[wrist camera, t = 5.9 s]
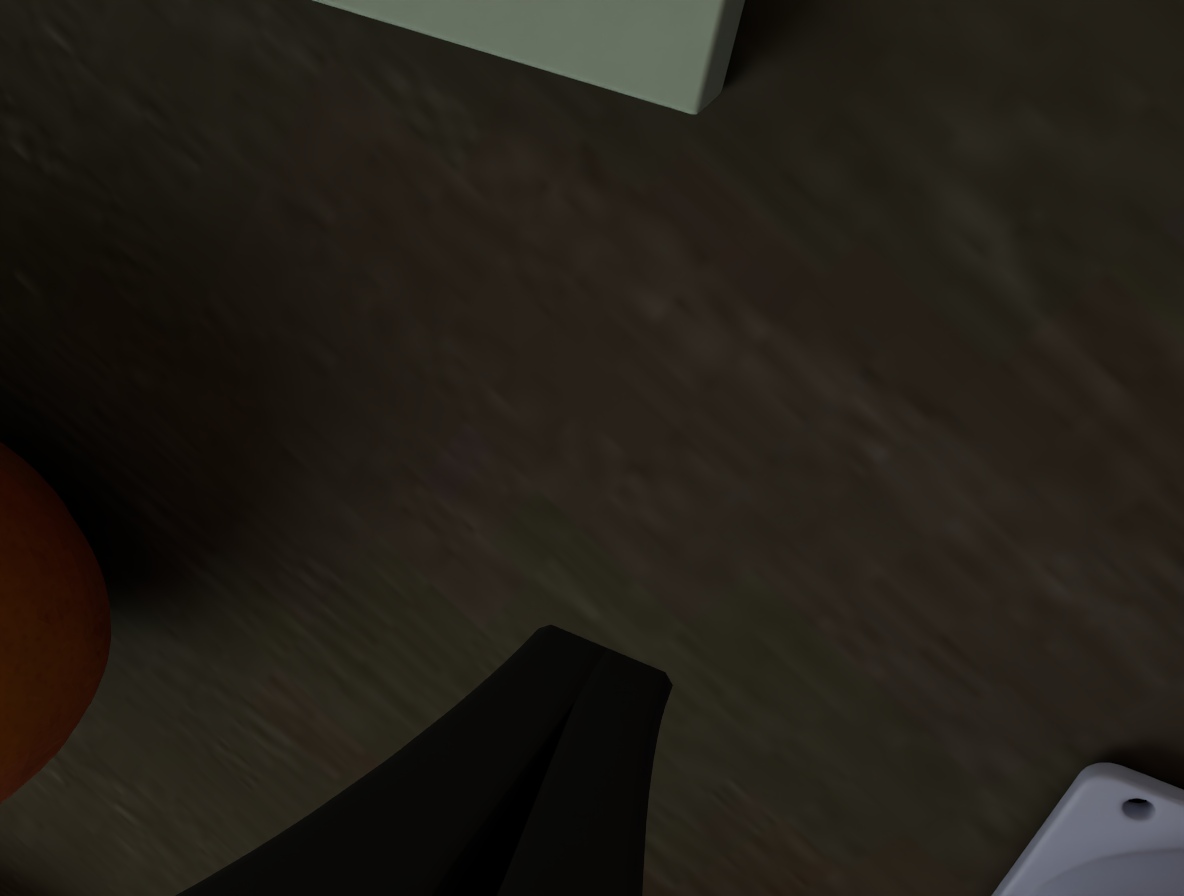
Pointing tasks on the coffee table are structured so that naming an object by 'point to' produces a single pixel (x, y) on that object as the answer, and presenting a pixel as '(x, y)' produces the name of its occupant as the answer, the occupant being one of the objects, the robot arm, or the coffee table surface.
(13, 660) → the fruit
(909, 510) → the coffee table surface
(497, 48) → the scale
